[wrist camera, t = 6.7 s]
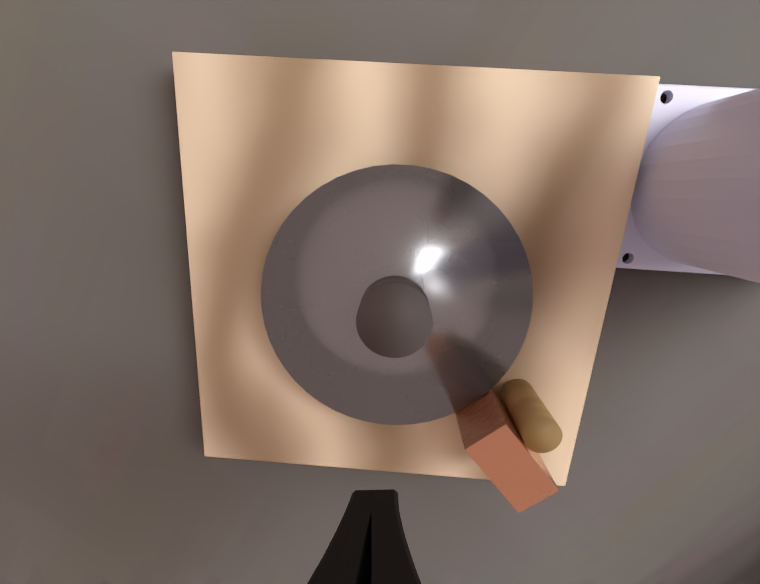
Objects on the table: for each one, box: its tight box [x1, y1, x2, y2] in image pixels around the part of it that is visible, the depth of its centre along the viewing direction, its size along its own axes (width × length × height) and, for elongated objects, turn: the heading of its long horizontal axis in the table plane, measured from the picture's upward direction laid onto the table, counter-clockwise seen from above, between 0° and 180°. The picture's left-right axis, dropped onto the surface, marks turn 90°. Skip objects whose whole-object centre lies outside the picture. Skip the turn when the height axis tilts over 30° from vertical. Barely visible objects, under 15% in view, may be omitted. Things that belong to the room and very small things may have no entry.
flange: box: [261, 164, 559, 513], centre depth 16 cm, size 16×12×4 cm
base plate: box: [172, 52, 660, 486], centre depth 17 cm, size 20×20×5 cm
